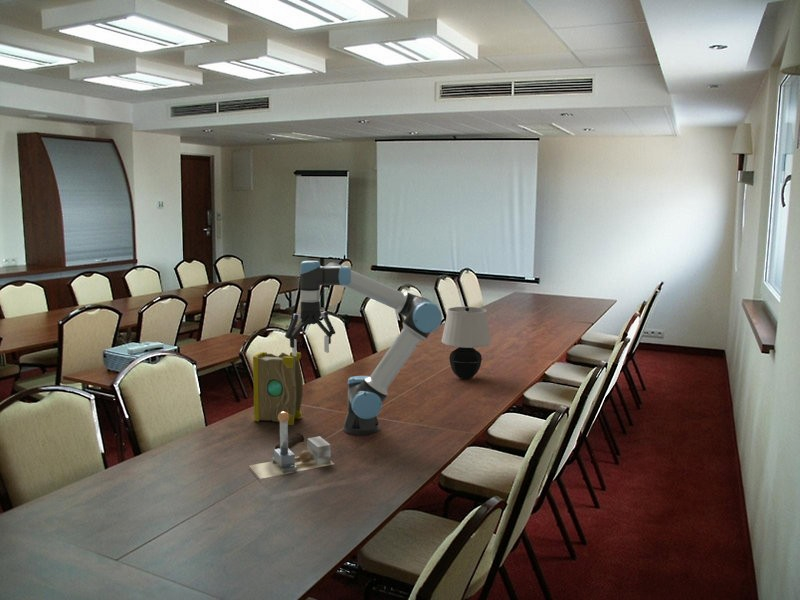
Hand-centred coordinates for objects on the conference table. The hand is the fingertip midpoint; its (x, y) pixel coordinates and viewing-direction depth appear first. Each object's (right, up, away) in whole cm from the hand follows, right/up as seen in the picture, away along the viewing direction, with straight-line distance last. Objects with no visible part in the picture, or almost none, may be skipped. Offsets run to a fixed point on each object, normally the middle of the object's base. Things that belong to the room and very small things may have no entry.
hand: (310, 353), depth 263 cm
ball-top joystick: (-7, -38, -22) cm, 45 cm away
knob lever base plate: (-4, -40, -20) cm, 45 cm away
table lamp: (+71, -22, +105) cm, 129 cm away
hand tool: (-8, -38, -2) cm, 39 cm away
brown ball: (+1, -38, -18) cm, 42 cm away
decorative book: (-19, -32, +33) cm, 50 cm away
